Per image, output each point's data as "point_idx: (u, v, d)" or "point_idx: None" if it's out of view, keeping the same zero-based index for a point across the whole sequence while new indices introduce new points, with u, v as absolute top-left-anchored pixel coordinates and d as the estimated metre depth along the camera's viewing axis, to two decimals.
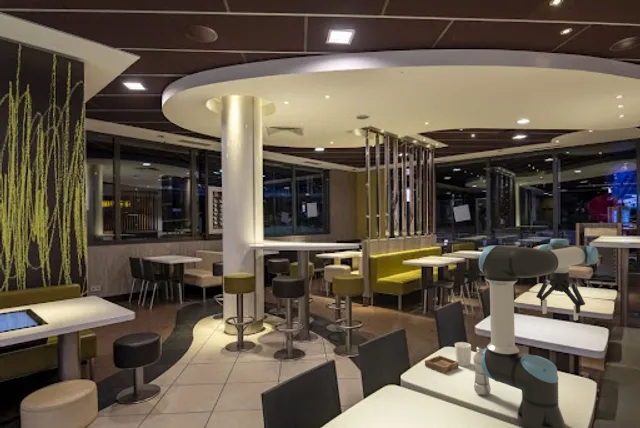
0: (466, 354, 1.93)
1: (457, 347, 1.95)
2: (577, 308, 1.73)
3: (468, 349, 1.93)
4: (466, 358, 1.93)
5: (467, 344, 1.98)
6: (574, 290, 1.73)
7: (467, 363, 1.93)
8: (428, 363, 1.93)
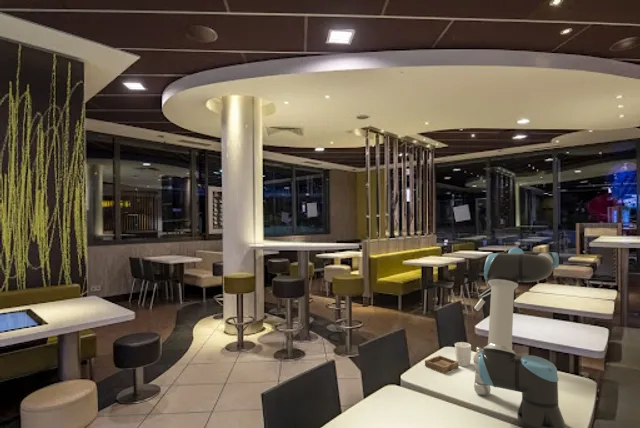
0: (466, 354, 1.93)
1: (457, 347, 1.95)
2: None
3: (468, 349, 1.93)
4: (466, 358, 1.93)
5: (467, 344, 1.98)
6: None
7: (467, 363, 1.93)
8: (428, 363, 1.93)
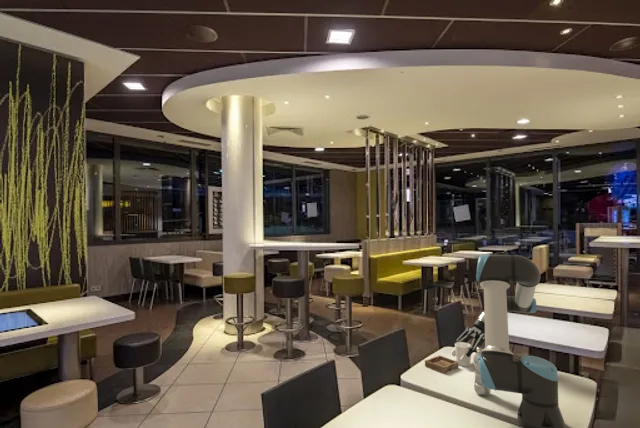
0: None
1: (457, 347, 1.95)
2: (469, 351, 1.92)
3: None
4: None
5: (467, 344, 1.98)
6: (479, 338, 1.92)
7: (467, 363, 1.93)
8: (428, 363, 1.93)
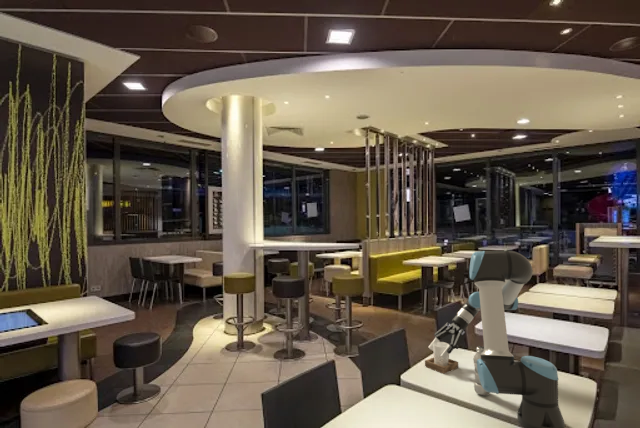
0: None
1: (435, 347, 1.92)
2: (450, 348, 1.87)
3: None
4: None
5: (445, 344, 1.95)
6: (459, 334, 1.88)
7: (445, 363, 1.90)
8: (428, 363, 1.93)
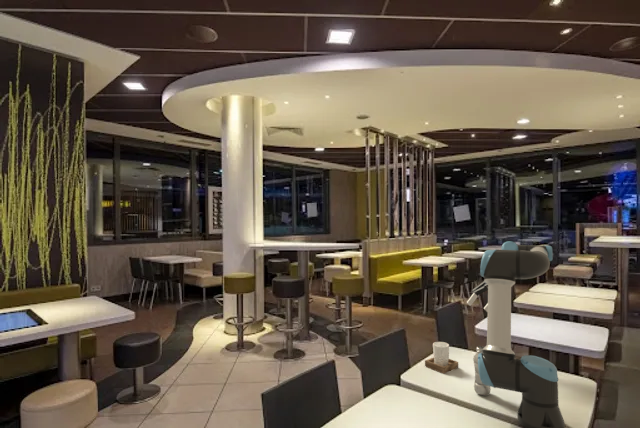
0: (444, 354, 1.90)
1: (435, 347, 1.92)
2: None
3: (446, 349, 1.90)
4: (444, 358, 1.90)
5: (445, 344, 1.95)
6: None
7: (445, 363, 1.90)
8: (428, 363, 1.93)
